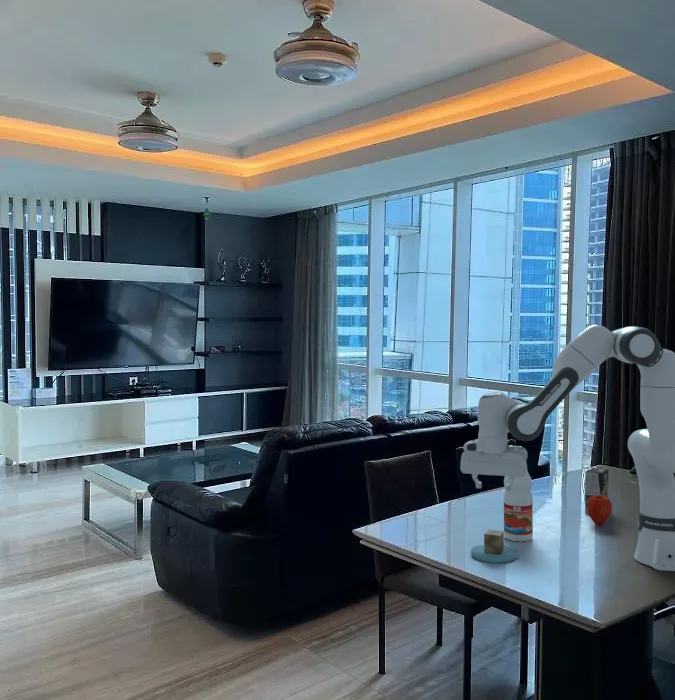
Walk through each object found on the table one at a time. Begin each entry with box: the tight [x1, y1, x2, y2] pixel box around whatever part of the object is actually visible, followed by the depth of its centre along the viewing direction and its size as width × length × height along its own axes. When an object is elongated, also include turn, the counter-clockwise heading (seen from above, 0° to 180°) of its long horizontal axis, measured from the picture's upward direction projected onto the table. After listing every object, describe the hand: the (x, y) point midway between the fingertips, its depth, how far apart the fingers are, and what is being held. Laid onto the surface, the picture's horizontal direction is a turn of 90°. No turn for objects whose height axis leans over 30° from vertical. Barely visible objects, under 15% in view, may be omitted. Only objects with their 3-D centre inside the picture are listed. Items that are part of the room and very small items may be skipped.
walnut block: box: [483, 529, 505, 555], centre depth 213 cm, size 5×5×6 cm
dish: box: [470, 544, 518, 564], centre depth 213 cm, size 14×14×1 cm
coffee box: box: [584, 467, 609, 515], centre depth 258 cm, size 9×6×16 cm
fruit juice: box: [503, 470, 534, 543], centre depth 229 cm, size 9×9×28 cm
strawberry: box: [587, 495, 613, 527], centre depth 242 cm, size 9×8×11 cm
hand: (493, 489), depth 212 cm, fingers open, 8 cm apart
